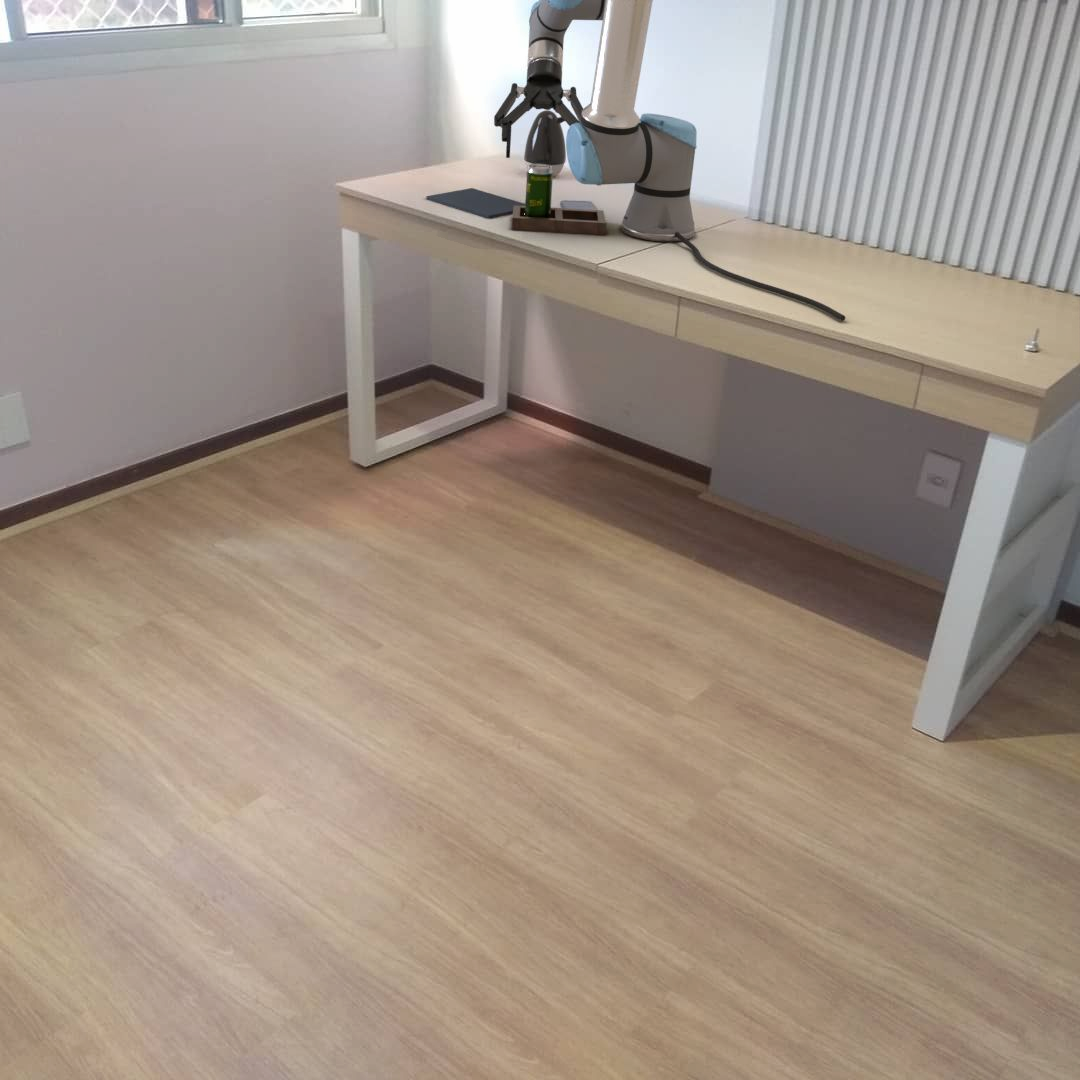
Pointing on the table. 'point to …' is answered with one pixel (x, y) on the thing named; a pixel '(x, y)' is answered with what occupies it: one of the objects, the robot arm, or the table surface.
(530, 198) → the beer can
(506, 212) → the slate mat
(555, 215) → the can stand
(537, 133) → the pump dispenser
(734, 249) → the table surface
